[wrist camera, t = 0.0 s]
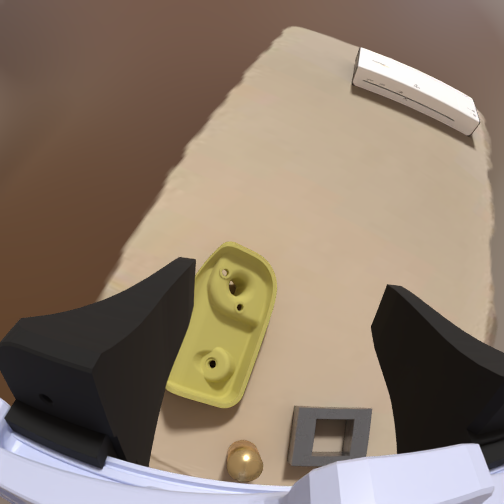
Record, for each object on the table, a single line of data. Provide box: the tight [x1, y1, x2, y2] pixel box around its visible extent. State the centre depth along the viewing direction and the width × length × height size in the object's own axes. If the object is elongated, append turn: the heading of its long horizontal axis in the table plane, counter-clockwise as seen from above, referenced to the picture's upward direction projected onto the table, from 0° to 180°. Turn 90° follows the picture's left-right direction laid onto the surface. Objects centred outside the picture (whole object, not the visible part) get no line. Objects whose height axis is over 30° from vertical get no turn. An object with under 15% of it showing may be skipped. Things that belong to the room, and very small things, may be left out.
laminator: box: [352, 47, 480, 136], centre depth 65 cm, size 34×12×6 cm, turn 72°
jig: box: [287, 406, 372, 466], centre depth 36 cm, size 8×10×3 cm
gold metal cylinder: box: [227, 440, 263, 482], centre depth 33 cm, size 4×4×7 cm
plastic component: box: [165, 242, 277, 408], centre depth 41 cm, size 20×7×10 cm
